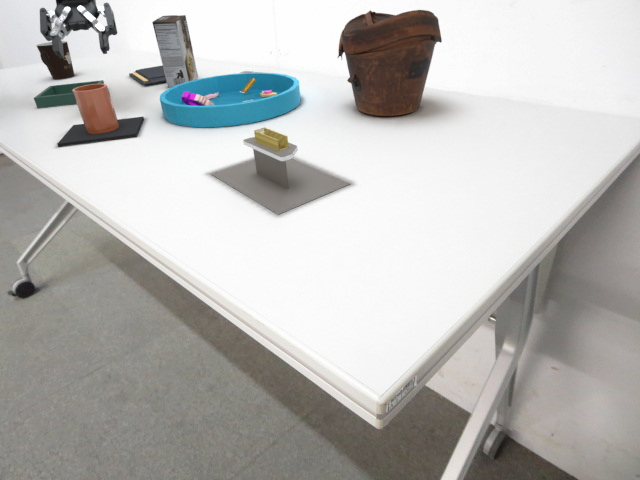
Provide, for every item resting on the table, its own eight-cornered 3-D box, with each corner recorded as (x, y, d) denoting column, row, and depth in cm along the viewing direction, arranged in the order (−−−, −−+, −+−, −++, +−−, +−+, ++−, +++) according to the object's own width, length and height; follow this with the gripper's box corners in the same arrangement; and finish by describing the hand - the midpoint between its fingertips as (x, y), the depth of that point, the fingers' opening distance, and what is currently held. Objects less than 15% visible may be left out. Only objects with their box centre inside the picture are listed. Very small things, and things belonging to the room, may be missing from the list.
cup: (83, 135, 85) (68, 92, 80) (90, 126, 90) (76, 85, 86) (116, 131, 86) (103, 89, 81) (121, 122, 91) (109, 82, 86)
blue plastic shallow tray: (133, 121, 93) (125, 92, 90) (219, 86, 116) (214, 62, 113) (253, 133, 81) (248, 100, 78) (323, 91, 104) (321, 65, 101)
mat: (58, 146, 82) (56, 143, 82) (74, 127, 92) (73, 124, 92) (136, 136, 84) (135, 133, 84) (144, 119, 94) (143, 116, 94)
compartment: (37, 108, 108) (33, 98, 107) (53, 95, 120) (49, 85, 118) (95, 101, 110) (92, 91, 109) (106, 89, 122) (103, 80, 120)
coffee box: (176, 78, 126) (162, 15, 117) (198, 77, 125) (186, 14, 116) (166, 87, 118) (150, 21, 109) (190, 86, 118) (176, 19, 109)
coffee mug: (66, 73, 147) (55, 41, 142) (84, 74, 144) (73, 41, 138) (34, 81, 138) (20, 47, 133) (52, 83, 135) (39, 47, 130)
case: (360, 93, 100) (359, 4, 91) (448, 99, 91) (457, 1, 82) (321, 115, 88) (315, 14, 78) (419, 125, 79) (425, 13, 69)
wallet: (195, 71, 126) (140, 80, 120) (196, 77, 127) (142, 87, 121) (176, 61, 141) (127, 69, 135) (178, 68, 142) (129, 76, 136)
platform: (276, 151, 72) (271, 111, 69) (350, 183, 60) (349, 136, 57) (210, 173, 66) (201, 131, 63) (278, 214, 54) (271, 164, 51)
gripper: (28, -27, 89) (36, 46, 87) (103, -32, 91) (112, 39, 89) (46, 0, 97) (54, 67, 94) (115, -6, 99) (123, 60, 96)
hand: (82, 53), depth 91 cm, fingers open, 8 cm apart
